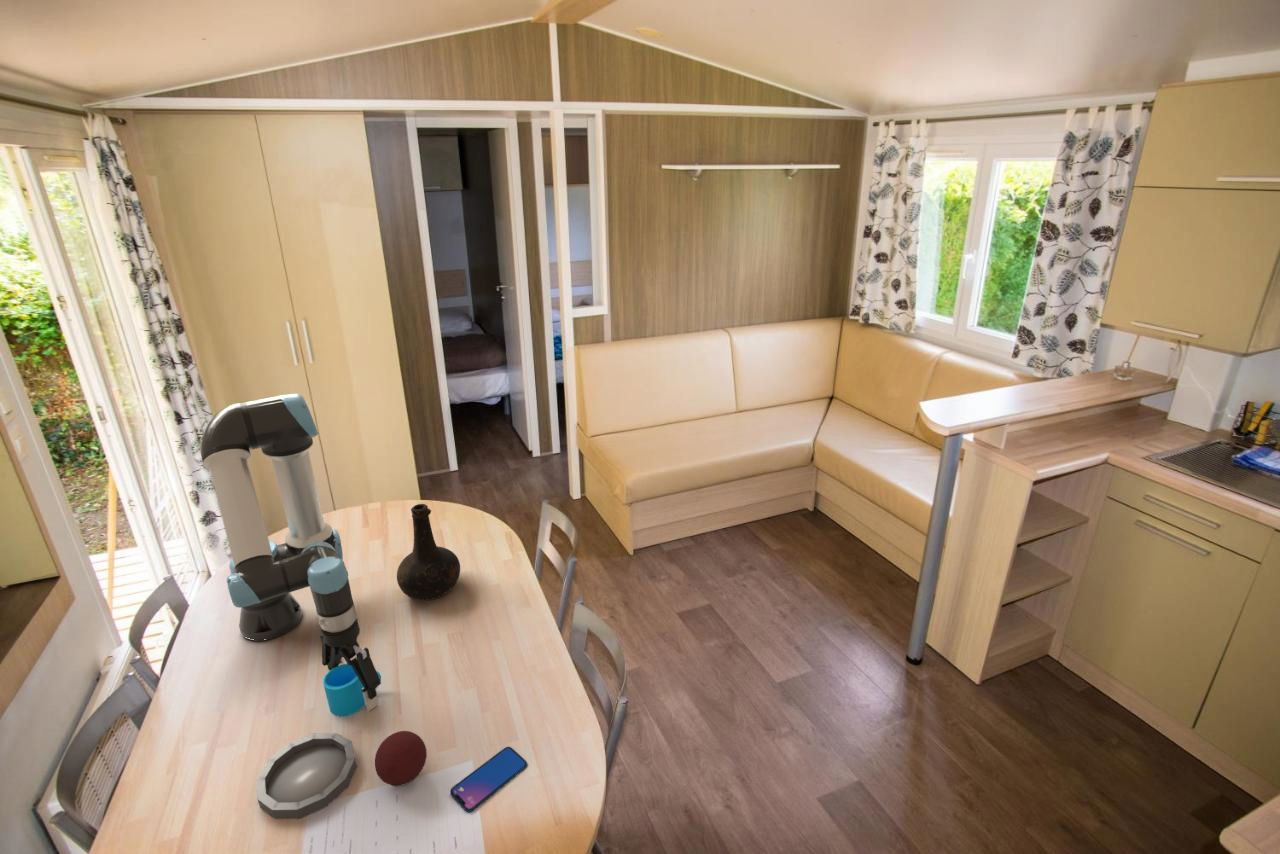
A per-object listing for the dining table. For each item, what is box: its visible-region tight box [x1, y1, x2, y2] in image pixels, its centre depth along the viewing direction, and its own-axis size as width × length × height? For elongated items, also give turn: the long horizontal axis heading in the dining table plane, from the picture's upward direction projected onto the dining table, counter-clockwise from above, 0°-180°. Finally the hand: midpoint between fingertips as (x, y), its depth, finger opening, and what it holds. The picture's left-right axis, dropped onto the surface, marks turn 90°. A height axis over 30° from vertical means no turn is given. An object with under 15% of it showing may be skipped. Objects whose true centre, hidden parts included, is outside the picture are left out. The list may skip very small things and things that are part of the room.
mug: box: [322, 663, 382, 718], centre depth 151 cm, size 12×8×8 cm
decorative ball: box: [374, 730, 428, 787], centre depth 132 cm, size 10×10×10 cm
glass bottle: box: [396, 503, 461, 601], centre depth 186 cm, size 18×18×28 cm
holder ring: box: [255, 732, 358, 820], centre depth 133 cm, size 18×18×2 cm
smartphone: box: [449, 746, 528, 814], centre depth 133 cm, size 7×1×15 cm
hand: (357, 698), depth 153 cm, fingers open, 10 cm apart
